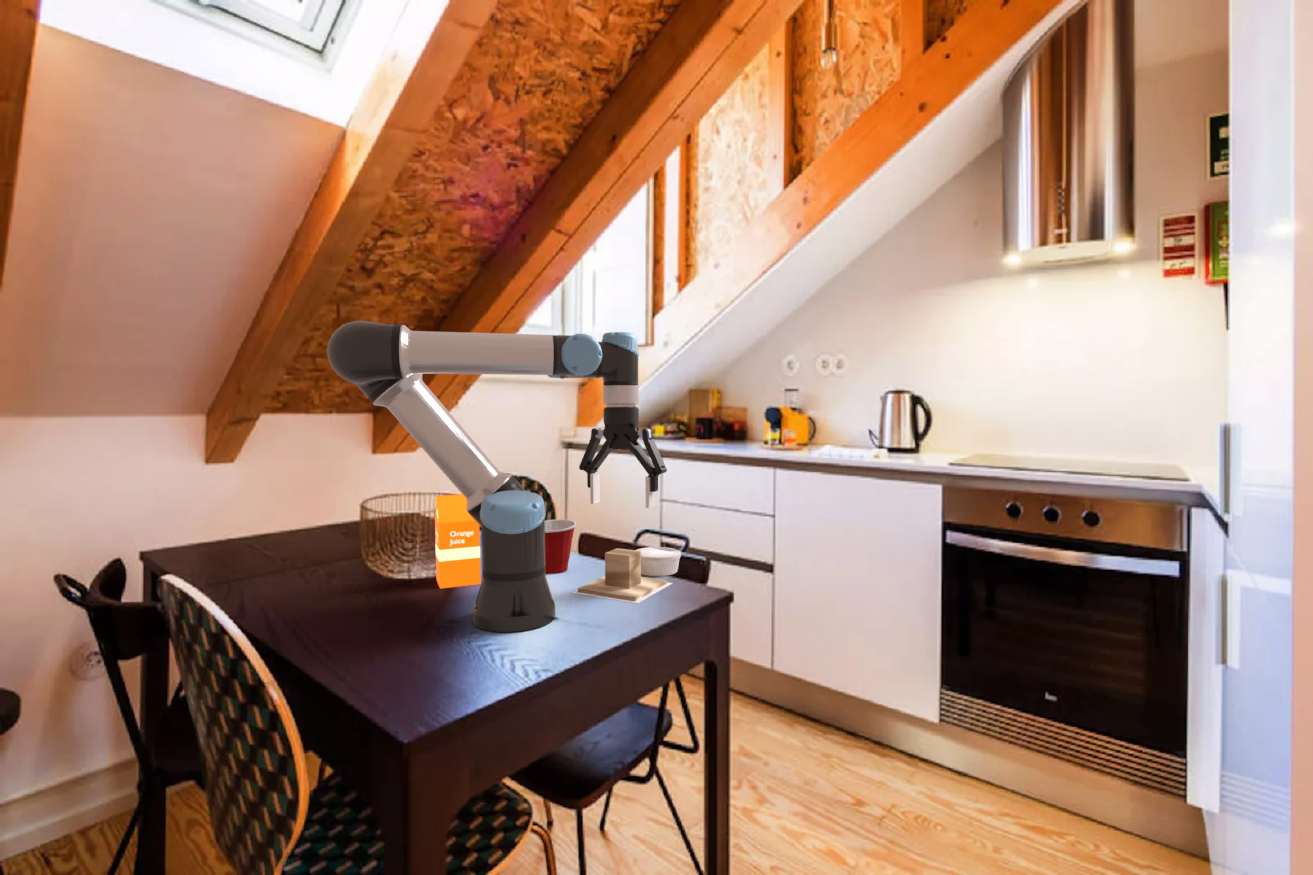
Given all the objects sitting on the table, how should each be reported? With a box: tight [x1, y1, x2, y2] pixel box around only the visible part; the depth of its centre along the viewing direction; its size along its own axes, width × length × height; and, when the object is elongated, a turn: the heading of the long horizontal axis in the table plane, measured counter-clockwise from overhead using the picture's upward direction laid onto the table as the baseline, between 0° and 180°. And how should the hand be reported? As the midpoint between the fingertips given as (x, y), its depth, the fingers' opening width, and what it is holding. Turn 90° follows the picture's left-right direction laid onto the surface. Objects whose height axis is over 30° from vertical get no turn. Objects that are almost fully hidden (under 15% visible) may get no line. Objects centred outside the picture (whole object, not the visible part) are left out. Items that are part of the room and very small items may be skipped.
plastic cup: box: [545, 518, 577, 575], centre depth 155 cm, size 11×11×12 cm
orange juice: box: [434, 493, 482, 590], centre depth 147 cm, size 8×9×20 cm
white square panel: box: [571, 581, 673, 604], centre depth 140 cm, size 16×16×1 cm
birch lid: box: [577, 547, 668, 601], centre depth 140 cm, size 14×14×8 cm
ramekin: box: [635, 546, 682, 577], centre depth 154 cm, size 11×11×5 cm
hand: (622, 505), depth 140 cm, fingers open, 13 cm apart
